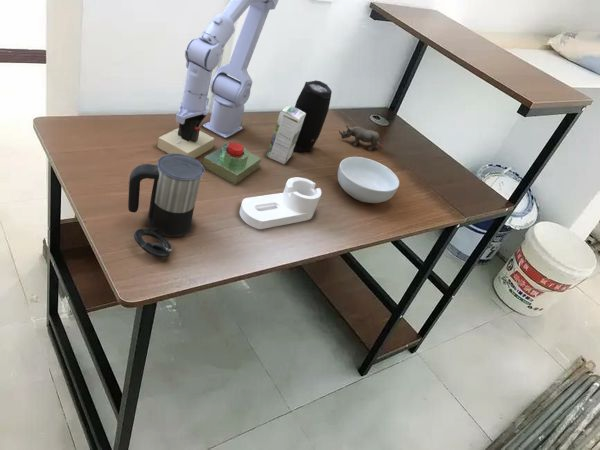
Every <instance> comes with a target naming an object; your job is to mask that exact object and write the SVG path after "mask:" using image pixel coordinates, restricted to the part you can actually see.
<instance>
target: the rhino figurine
mask: <svg viewBox="0 0 600 450" xmlns="http://www.w3.org/2000/svg"><path fill="white" fill-rule="evenodd" d="M346 128H347V129H346V131H345V130H342V131H341V130H338V133H339V135H341V139H342V140H343V139H349V138H351V137H354V138H355V139H354V141H353V143H352V146H354V147H357V146H358V144H359V143H360V141H361V142H363V143H370V145H369V146H368V147H367V150H368V151H372V150H373V149H377V146H378V144H379V143H378V142H379V140H380V134H379V132H378V131H375V130H372V129H371V130H370V129H369V130H368V129H365V128H363V127H361V126H351V127H350V126H349V125H348V124H346Z"/></svg>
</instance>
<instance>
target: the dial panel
mask: <svg viewBox="0 0 600 450" xmlns="http://www.w3.org/2000/svg"><path fill="white" fill-rule="evenodd" d="M178 130H179V127H178V128H176V129H172V130H171V131H169V132H167V133H165V134H163V135H160V136H159V137H158V139H157V140H158V141H157V148H158V149H160V150H161V151H163V152H165V153H167V154H183V155H187V156H190V157H192V158H194V159H196V158H197V157H200V156H201V155H203V154H205V153H206V152H208V151H210V150H212V149H213V148H214V144H215V140H216V137H213V136H211V135H209V134H207V133H205V132H203V131H202V130H200V131H199V136H198V140H197V141H196V142H193V141H186V140H184V139H182V137H181V136H179V135H178Z"/></svg>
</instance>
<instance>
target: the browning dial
mask: <svg viewBox="0 0 600 450" xmlns="http://www.w3.org/2000/svg"><path fill="white" fill-rule="evenodd" d="M178 124H179V123H178ZM178 128H179V130H178V135H179V136H181V128H180V124H179V125H178ZM199 131H201V128H200V127H195V129H194V131H193V134H192V137H191V139H190V141H193V142H196V141H197V140H198V136H199Z"/></svg>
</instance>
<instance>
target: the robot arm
mask: <svg viewBox="0 0 600 450" xmlns="http://www.w3.org/2000/svg"><path fill="white" fill-rule="evenodd" d="M278 2H279V0H229V1H228V2H227V4H226V6H225V8H224V9H223V11H222V13H217V14H214V15H213V17H212V19H211V20H210V21H209V22H208V24H207V25H206V27H205V28H204V30H203V31H202V33H201V34H200V35H199V37H197V38H193V39H191V40H190V41H189V42H188V44H187V47H186V49H185V50H184V57H185V60H186V62H185V67H186V69H187V71H186V76H185V82H184V87H183V95H182V99H181V100H182V101H181V102H180V106H179V109H178V111H177V113H176V114H175V121H174V122H176V123H178V124H180V128H181V137H182V139H184V140H186V141H190V139H191V137H192V134H193V131H194V129H195V127H198V128H200V126H201V124H202V122H203V120H204V119H205V118H206V117H207V116H208V115H209V114H210V110H209V109H207V107H208V105H209V100H210V98H209V97H208V96H209V95H208V94H209V90H210V92H211V93H212V98H213V99H214V101H213V106H212V109H211V115H210V119H209V121H207V122H205V123H204V124H203V125H202V127H203V128H205V129H206V130H209V131H210V132H213V133H214V134H216V135H218V136H220V137H222V138H224V139H228V138H229V137H231V136H233V135H235V134H237V133H238V132H240V131H242V130H243V126H241V125H242V120H243V117H244V114H245V113H244V112H245V104H246V103H247V102H248V100H249V98H250V96H251V90H252V86H253V79H252V77H251V76H250V74H249V72H248V68H249V65H250V62H251V60H252V57H253V54H254V52H255V49H256V47H257V45H258V42H259V39H260V36H261V33H262V31H263V29H264V26H265V23H266V20H267V18H268V15H269V12H270V11H272V10H275V9H276V7H277V5H278ZM247 9H248V10H247ZM246 10H247V13H246V16H245V18H244V21H243V24H242V27H241V29H240V32H239V35H238V37H237V39H236V40H237V41H236V43H235V46H234V48H233V51H232V54H231V57H230V60H229V62H228V63H227V64H223V65H221V66H218V65H219V63H220V61H221V58H222V55H223V54H224V53H223V52H224V47H225V46H226V45H227V43H228V42H229V40H230V39H231V37H232V36H233V35H234V33H235V31H236V29H235V24H236V22H237V21H238V20H239V19H240V17H241V16H242V15H243V14H244V13H245V12H246ZM217 66H218V68H217ZM216 68H217V70H216V72H215V74H214V76H213V77H212V74H213V70H215V69H216Z"/></svg>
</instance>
